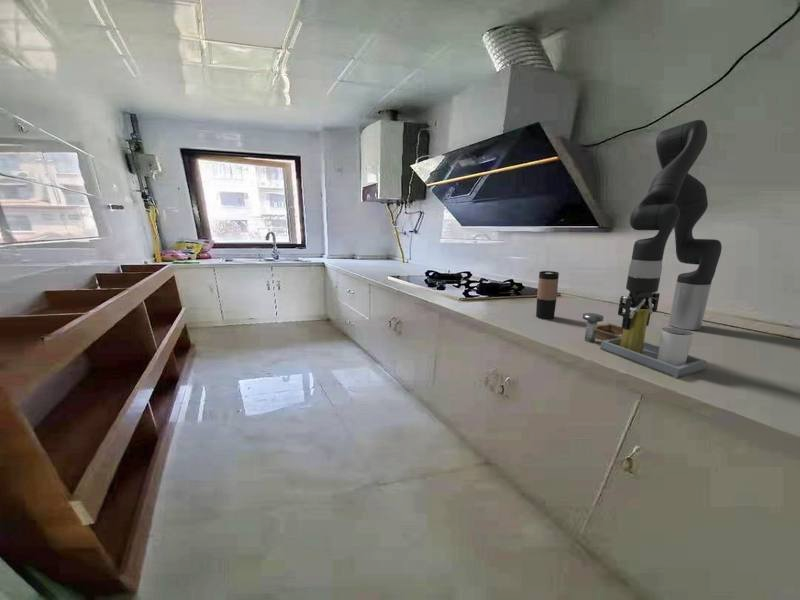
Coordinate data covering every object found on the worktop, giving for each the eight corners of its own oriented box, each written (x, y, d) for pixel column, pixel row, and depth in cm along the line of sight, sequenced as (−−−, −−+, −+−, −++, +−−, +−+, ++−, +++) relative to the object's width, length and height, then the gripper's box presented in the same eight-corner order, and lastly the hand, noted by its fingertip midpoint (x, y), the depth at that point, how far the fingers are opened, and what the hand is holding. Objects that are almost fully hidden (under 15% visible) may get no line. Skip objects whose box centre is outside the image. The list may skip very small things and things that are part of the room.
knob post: (588, 336, 108) (591, 312, 106) (604, 342, 102) (607, 316, 100) (575, 339, 106) (578, 314, 104) (591, 345, 101) (595, 319, 98)
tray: (625, 343, 101) (626, 335, 100) (704, 370, 82) (706, 360, 81) (600, 349, 97) (601, 341, 96) (676, 378, 78) (679, 368, 77)
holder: (607, 330, 113) (608, 323, 112) (638, 340, 103) (639, 332, 102) (586, 334, 110) (587, 327, 109) (616, 345, 100) (617, 337, 99)
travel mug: (533, 314, 135) (536, 271, 131) (550, 314, 134) (555, 270, 129) (538, 319, 128) (542, 273, 123) (557, 320, 127) (562, 273, 122)
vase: (647, 355, 90) (656, 310, 87) (624, 353, 92) (632, 309, 88) (636, 347, 96) (644, 304, 93) (615, 346, 98) (622, 304, 94)
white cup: (673, 359, 87) (680, 327, 85) (693, 370, 81) (701, 335, 78) (649, 359, 88) (655, 327, 85) (666, 370, 81) (674, 335, 79)
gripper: (646, 271, 94) (637, 320, 98) (614, 275, 89) (606, 326, 93) (674, 274, 87) (663, 327, 91) (641, 279, 82) (631, 334, 86)
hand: (634, 327), depth 92 cm, fingers open, 7 cm apart
